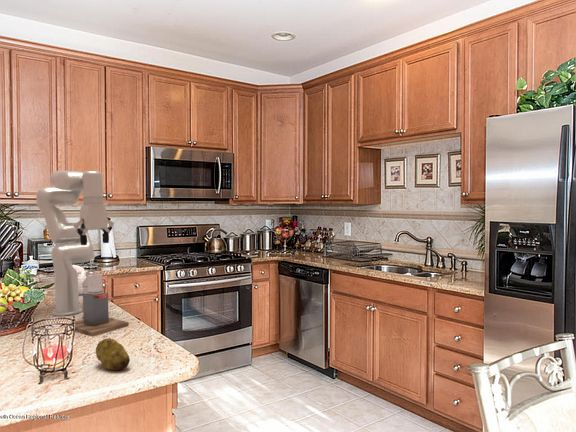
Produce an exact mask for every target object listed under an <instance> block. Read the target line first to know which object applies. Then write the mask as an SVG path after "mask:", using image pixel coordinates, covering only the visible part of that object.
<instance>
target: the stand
mask: <svg viewBox="0 0 576 432" xmlns="http://www.w3.org/2000/svg"><path fill="white" fill-rule="evenodd" d="M82 308H83V311H82V313H83V317H82V319H79V320H75V321H74V322H75V331H74V332H76V331H77V332H76V333H79V332H80V333H79V334H82V335H85V336H86V335H87V336H90V337H94V336H95V337H96V336H99V335H102V334H105V333H108V332H112V331H116V330H120V329H122V328H126V327H129V325H130V324H129V321H124V320H121V319H116V318H113V317H110V316H109V315H110V314H109V293H107V292H103V294H100V295H95V296H92V295H88V294H82Z"/></svg>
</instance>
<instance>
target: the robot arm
mask: <svg viewBox="0 0 576 432" xmlns="http://www.w3.org/2000/svg"><path fill="white" fill-rule="evenodd" d="M49 182H50V184H51V185H52V186H45V187H42V188H40V189H38V190H37V192H36V197H35V198H36V205H37V207H38V210H39V212H40V213H41V215H42V216H43V218H44V219H45V224H46V227H47V230H48V234H49V238H50V240H51V242H52V243H54V244H56V245H55V246H53V247H52V249H51V260H52V264H53V265H52V266H53V271H54V273H53V274H54V296H55V297H54V298H55V302H54V303H53V306H54V307H55V308H54V310H52V311H51V315H53V316H55V317H59V316H60V317H62V316H63V317H65V316H72V315H76V314H80V313H83V307H81V306H79V305H80V304H79V295H78V274H77V271H76V270H75V269H74V268H73V267H72V265H76V264H84V263H88V262H91V261H92V260H93V258H94V255H95V253H94V248H93V244H92V241H91V239H90V234H89V231H94V230H101V231H102V243H103V244H109V243H110V233H111V231H112V230H113V227H114V224H115V222H114V221H112V220H110V219H108V214H107V208H106V205H105V203H106V201H107V199H106V198H104V189H103V187H104V185H103V184H104V183H103V174H102V172H101V171H96V170H86V171H80V170H56V171H53V172H52V173H51V174H50V177H49ZM81 196H82V202H83V203H82V205H81V207H80V211H79V221H77V222H68V220H67V218H66V215H65V213H64V212H63V211H62V210H61V209H60V208H59V207H57V205H59V206H60V205H61V206H63V205H64V206H65V205H66V206H69V205H75V204H77V203H78V201H79V200H80V197H81Z"/></svg>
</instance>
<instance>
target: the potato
mask: <svg viewBox="0 0 576 432" xmlns="http://www.w3.org/2000/svg"><path fill="white" fill-rule="evenodd" d="M95 355H96V358H97V360H98V361H100V363H101V365H102V366H103V367H104V368H105V369H106V370H111V371H121V370H122V371H123V370H124V369H126V368H127V367H128V365H129V364H130V362H131V360H130V359H131V358H130V356H129V353H128V352H127V350H126V349H125V347H124V346H123V345H122V344H121V343H119V342H118V340H116V339H114V338H110V337H109V338H104V339H102V340H101V341H99V342H98V343H97V345H96V347H95Z"/></svg>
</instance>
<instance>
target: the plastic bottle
mask: <svg viewBox="0 0 576 432" xmlns="http://www.w3.org/2000/svg"><path fill="white" fill-rule="evenodd" d="M92 274H96V271H95V270H87V272H86V279H85V280H84V281H83V290H84V294H88V278H87V275H92Z"/></svg>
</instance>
